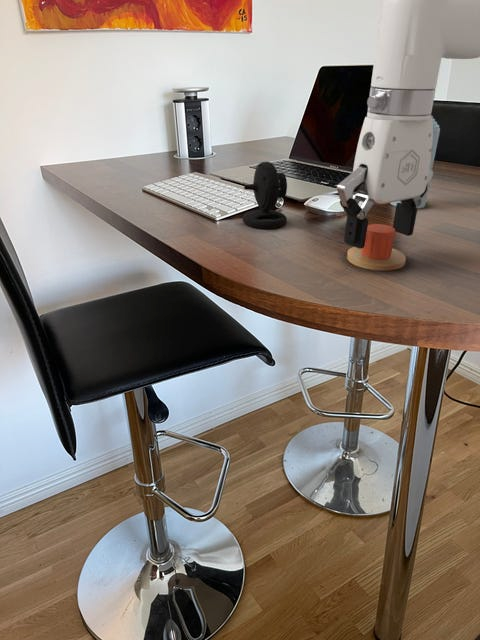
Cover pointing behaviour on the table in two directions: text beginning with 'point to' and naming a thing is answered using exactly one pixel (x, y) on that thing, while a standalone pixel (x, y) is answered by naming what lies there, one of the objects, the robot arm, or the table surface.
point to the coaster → (376, 260)
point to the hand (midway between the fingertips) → (378, 239)
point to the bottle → (434, 145)
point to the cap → (379, 241)
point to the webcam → (266, 197)
